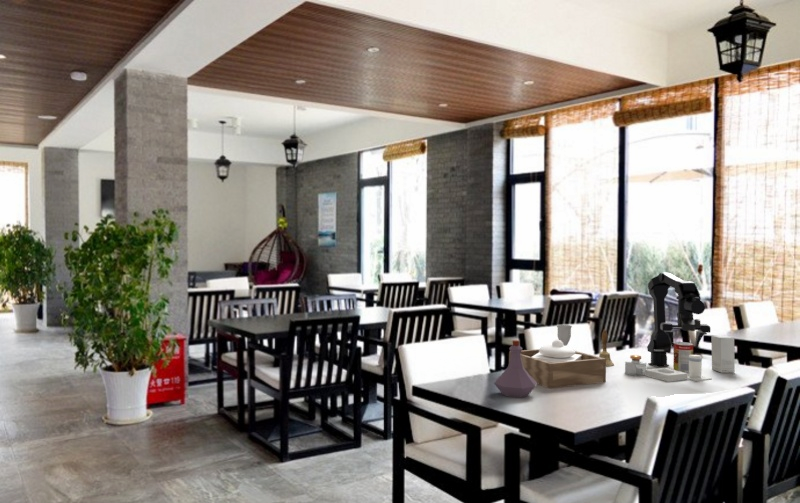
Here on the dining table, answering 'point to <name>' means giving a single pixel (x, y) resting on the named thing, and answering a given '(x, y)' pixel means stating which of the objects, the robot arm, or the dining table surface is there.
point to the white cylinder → (695, 366)
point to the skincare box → (723, 353)
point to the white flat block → (666, 374)
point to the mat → (698, 378)
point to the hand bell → (605, 350)
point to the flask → (515, 376)
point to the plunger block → (635, 368)
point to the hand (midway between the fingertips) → (684, 347)
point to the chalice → (564, 333)
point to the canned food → (682, 356)
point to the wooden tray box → (564, 370)
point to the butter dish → (557, 353)
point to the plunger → (635, 358)
